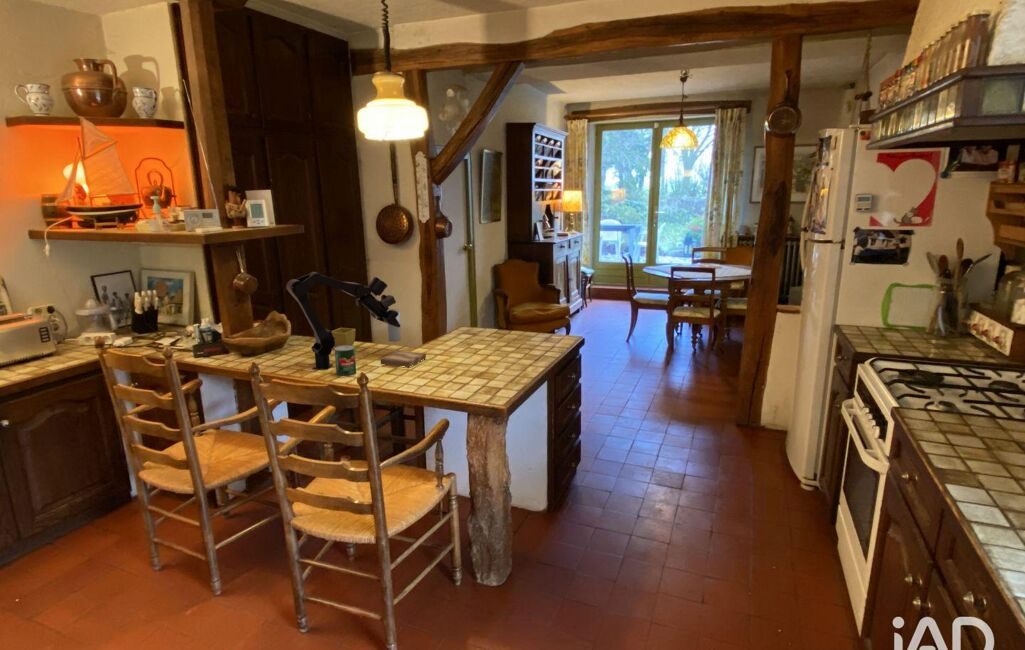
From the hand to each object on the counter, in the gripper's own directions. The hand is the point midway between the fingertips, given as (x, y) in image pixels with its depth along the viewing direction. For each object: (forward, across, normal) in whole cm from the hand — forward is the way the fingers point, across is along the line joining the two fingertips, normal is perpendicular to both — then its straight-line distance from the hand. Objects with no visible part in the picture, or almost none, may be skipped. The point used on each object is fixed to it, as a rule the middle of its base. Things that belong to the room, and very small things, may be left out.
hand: (396, 325), depth 257 cm
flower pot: (-2, +24, +21) cm, 32 cm away
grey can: (+4, 0, +6) cm, 7 cm away
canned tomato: (-12, -15, +31) cm, 36 cm away
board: (+7, -14, +12) cm, 19 cm away
